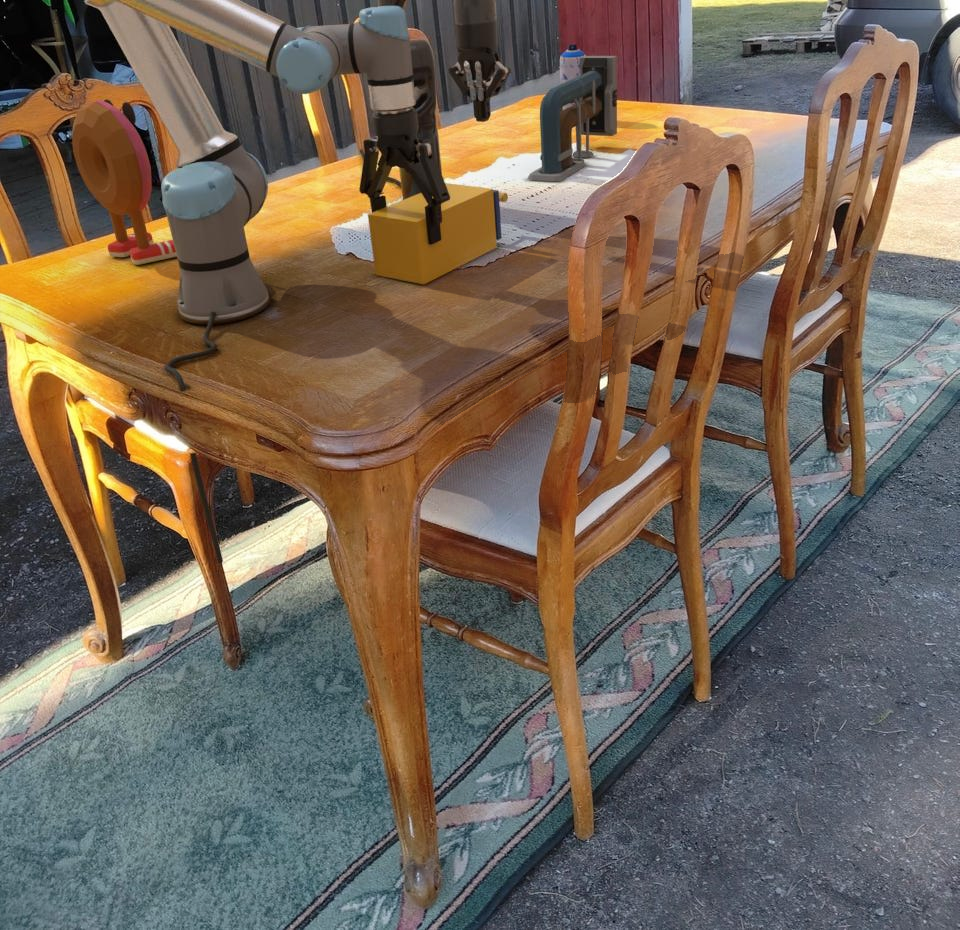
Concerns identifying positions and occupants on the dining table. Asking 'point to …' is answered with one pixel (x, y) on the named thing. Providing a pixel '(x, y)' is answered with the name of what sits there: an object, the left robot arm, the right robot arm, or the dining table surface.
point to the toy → (118, 176)
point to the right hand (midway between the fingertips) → (482, 120)
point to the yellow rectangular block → (406, 237)
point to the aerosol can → (570, 66)
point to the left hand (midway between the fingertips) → (408, 237)
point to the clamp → (577, 117)
